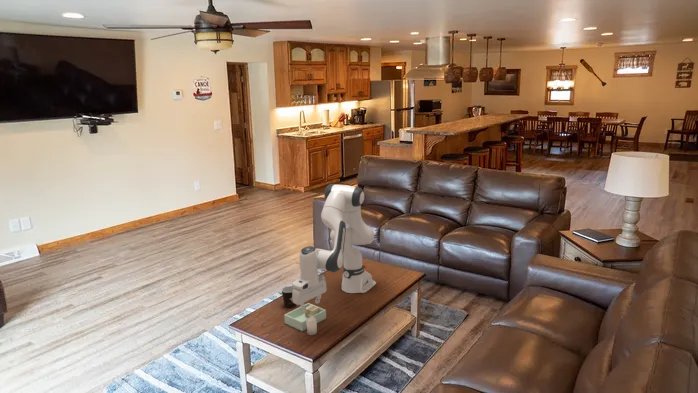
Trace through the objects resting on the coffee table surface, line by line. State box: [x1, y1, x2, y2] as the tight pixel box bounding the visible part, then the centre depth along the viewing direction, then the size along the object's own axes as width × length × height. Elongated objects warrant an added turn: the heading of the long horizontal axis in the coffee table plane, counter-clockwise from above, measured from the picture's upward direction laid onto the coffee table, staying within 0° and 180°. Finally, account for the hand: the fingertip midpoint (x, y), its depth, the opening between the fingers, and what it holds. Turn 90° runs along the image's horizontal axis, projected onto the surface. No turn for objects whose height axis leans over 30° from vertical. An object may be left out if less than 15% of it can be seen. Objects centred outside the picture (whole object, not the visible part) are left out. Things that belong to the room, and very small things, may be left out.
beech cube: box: [305, 304, 319, 318], centre depth 253 cm, size 5×5×5 cm
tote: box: [283, 302, 327, 332], centre depth 249 cm, size 17×13×5 cm
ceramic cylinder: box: [306, 317, 318, 336], centre depth 238 cm, size 5×5×7 cm
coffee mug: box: [281, 285, 297, 309], centre depth 267 cm, size 12×9×10 cm
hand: (310, 306), depth 235 cm, fingers open, 8 cm apart
